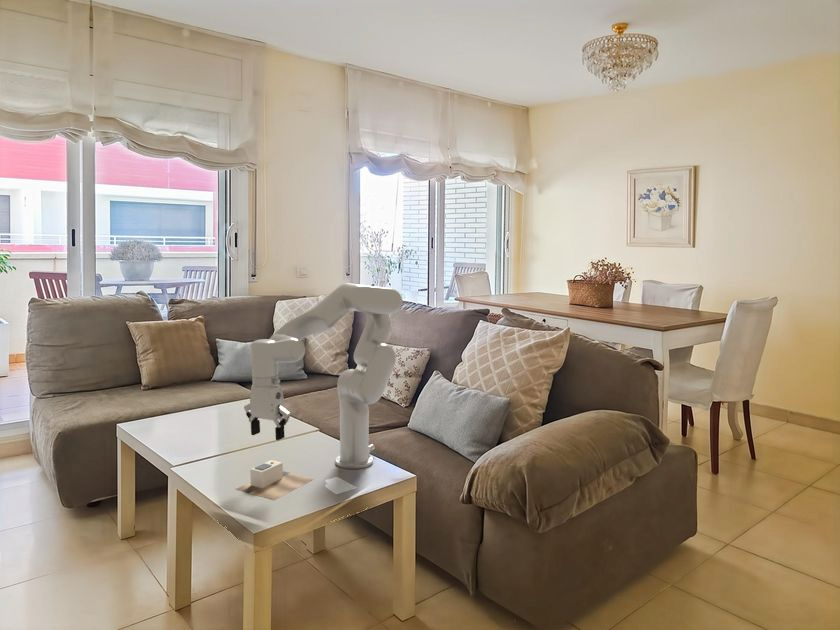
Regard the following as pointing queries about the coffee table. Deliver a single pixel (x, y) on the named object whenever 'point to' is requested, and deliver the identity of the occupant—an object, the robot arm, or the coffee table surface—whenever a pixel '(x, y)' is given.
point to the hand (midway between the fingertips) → (267, 436)
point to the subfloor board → (277, 486)
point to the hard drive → (338, 485)
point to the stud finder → (266, 473)
